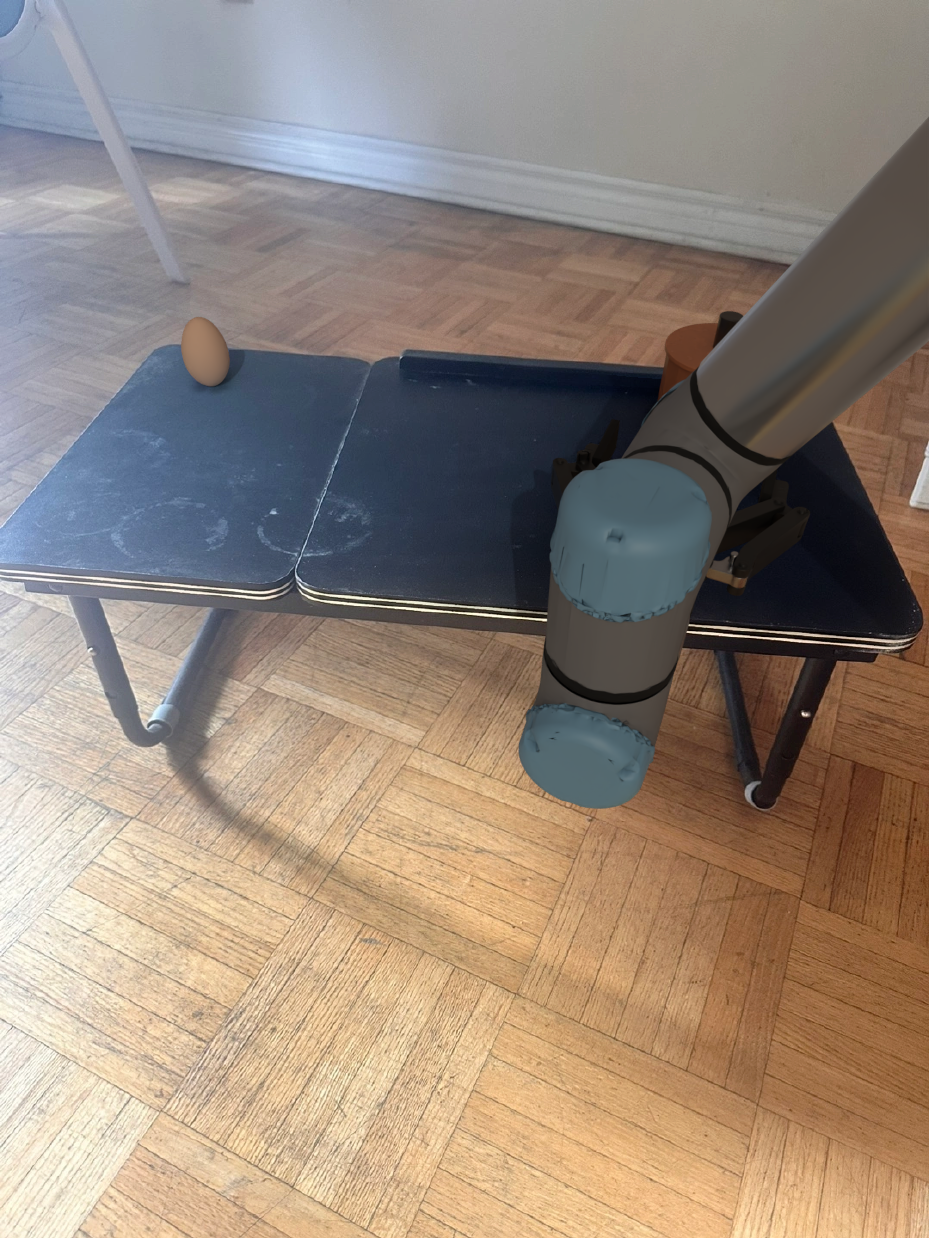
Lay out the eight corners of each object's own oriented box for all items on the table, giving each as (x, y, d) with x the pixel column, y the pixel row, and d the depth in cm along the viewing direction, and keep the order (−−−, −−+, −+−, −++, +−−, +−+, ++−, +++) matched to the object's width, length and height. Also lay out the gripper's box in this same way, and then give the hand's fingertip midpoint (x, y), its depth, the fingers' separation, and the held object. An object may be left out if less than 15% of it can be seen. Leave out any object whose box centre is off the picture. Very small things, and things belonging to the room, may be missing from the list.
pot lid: (770, 335, 91) (781, 293, 87) (791, 389, 82) (805, 345, 79) (659, 330, 91) (666, 289, 88) (668, 383, 83) (677, 340, 80)
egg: (194, 399, 96) (177, 331, 90) (186, 379, 99) (169, 312, 94) (239, 390, 98) (225, 323, 92) (229, 370, 101) (215, 305, 95)
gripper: (467, 600, 62) (549, 456, 77) (808, 690, 56) (829, 514, 70) (467, 521, 57) (555, 383, 71) (843, 610, 50) (858, 438, 65)
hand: (691, 448), depth 71 cm, fingers open, 13 cm apart
